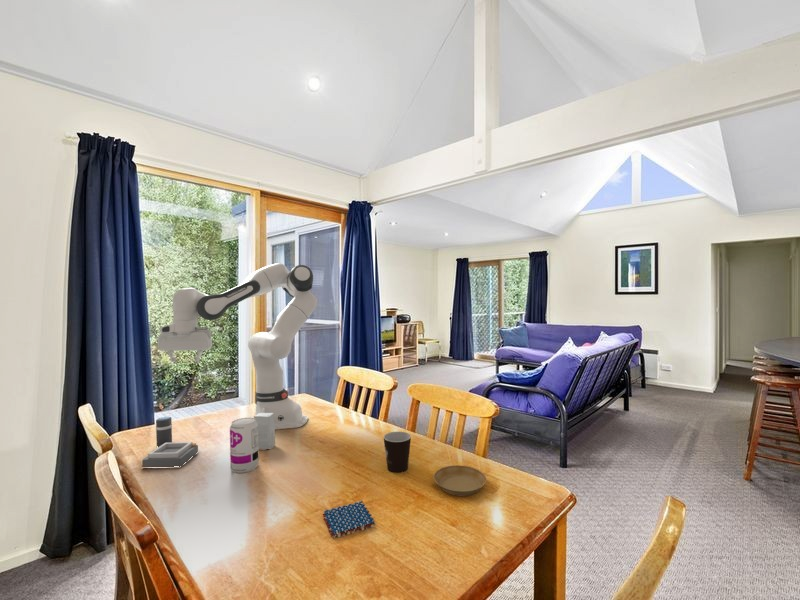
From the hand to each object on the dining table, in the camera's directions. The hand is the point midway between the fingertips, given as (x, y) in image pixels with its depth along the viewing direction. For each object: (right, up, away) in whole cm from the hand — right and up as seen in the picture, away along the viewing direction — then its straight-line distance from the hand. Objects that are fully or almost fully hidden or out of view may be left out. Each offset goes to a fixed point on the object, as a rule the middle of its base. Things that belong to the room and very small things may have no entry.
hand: (185, 361), depth 152 cm
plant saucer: (+104, -28, -46) cm, 117 cm away
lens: (0, -29, -14) cm, 32 cm away
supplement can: (+38, -29, -33) cm, 58 cm away
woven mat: (+75, -29, -62) cm, 101 cm away
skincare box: (+38, -29, -17) cm, 51 cm away
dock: (+11, -29, -27) cm, 41 cm away
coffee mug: (+87, -28, -33) cm, 97 cm away
